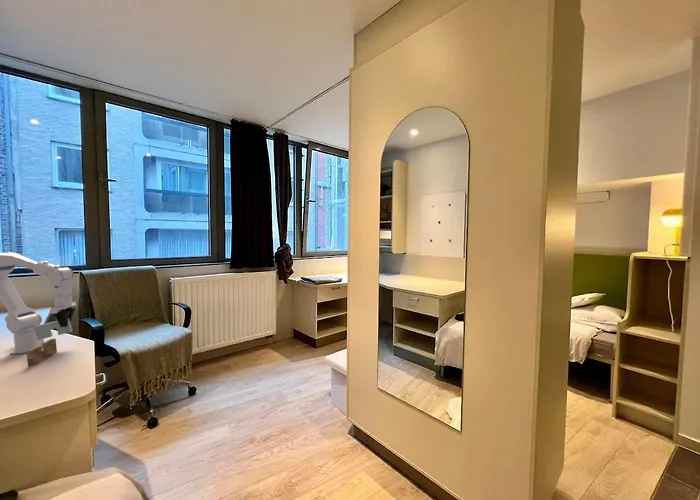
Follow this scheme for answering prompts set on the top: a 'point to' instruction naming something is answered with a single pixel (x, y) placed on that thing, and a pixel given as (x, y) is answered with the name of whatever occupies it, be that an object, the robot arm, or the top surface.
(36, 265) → the robot arm
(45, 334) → the pale green bar
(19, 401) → the top surface
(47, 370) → the top surface
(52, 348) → the walnut plate
